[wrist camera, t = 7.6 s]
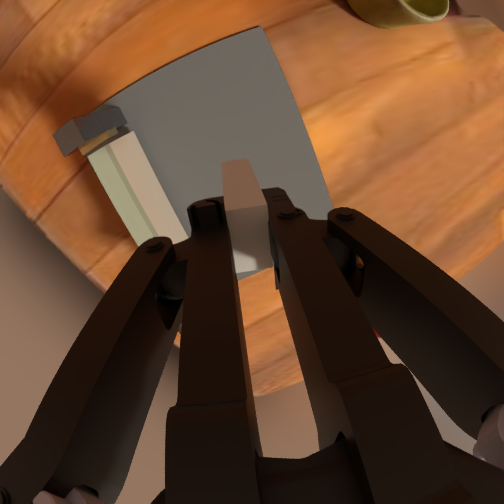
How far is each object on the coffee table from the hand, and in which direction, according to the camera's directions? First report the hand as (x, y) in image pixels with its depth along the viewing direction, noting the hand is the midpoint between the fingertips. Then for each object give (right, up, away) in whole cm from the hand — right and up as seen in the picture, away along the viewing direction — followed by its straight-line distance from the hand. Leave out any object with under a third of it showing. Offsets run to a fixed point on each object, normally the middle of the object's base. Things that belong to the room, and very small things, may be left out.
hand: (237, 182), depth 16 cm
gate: (-9, +2, +13) cm, 16 cm away
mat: (-3, +4, +14) cm, 14 cm away
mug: (+16, +25, +3) cm, 30 cm away
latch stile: (-13, +10, +9) cm, 18 cm away
